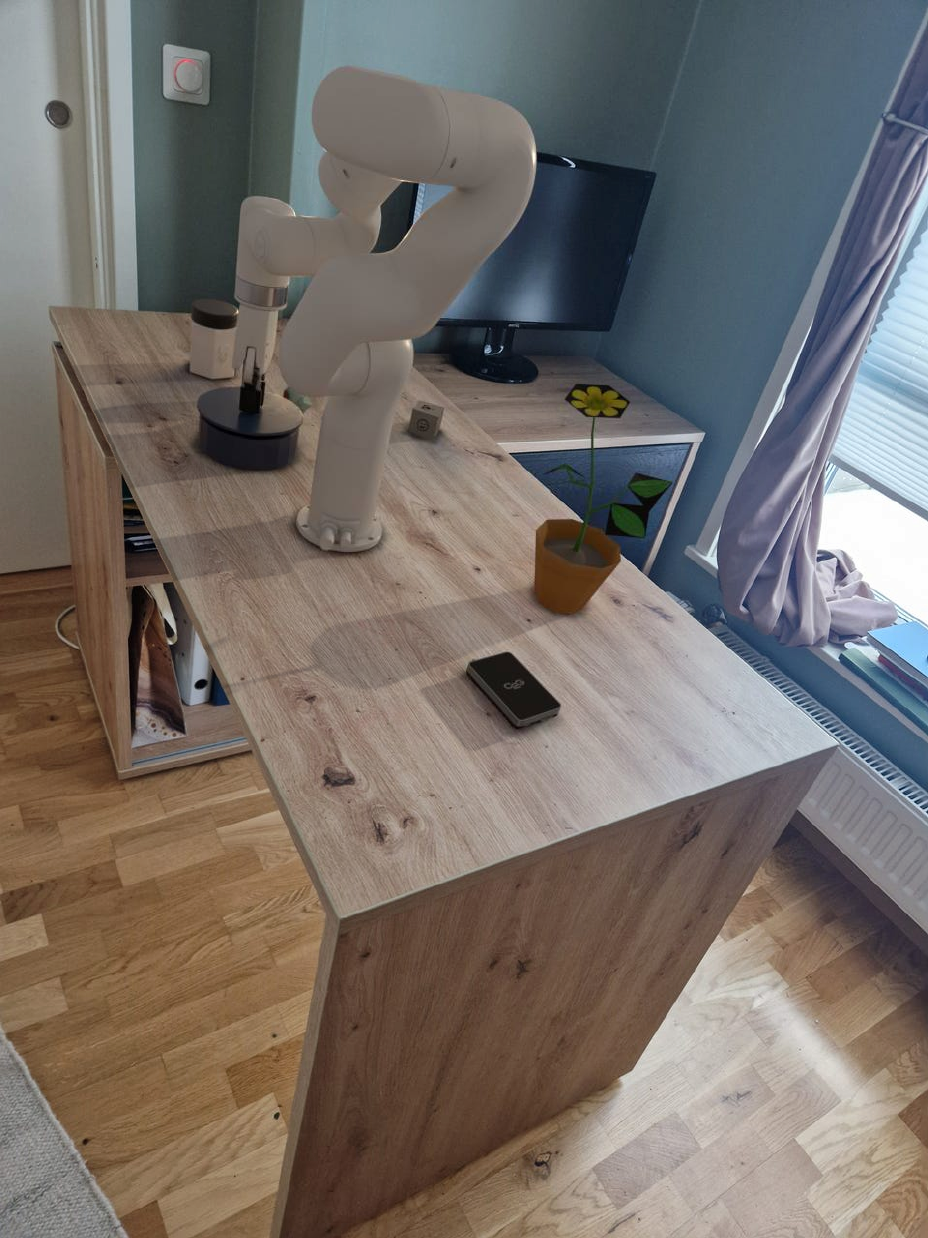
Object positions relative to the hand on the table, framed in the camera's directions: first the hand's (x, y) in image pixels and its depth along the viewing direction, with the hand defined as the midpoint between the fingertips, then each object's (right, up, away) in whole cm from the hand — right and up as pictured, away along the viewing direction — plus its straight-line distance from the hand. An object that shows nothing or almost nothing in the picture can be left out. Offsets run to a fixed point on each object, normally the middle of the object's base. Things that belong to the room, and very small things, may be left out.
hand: (251, 406), depth 131 cm
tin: (-2, -6, +4) cm, 7 cm away
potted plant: (+48, -31, -10) cm, 58 cm away
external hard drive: (+39, -43, -30) cm, 66 cm away
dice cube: (+26, +1, +25) cm, 36 cm away
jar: (-14, +13, +25) cm, 31 cm away
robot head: (+3, +2, +16) cm, 16 cm away
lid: (0, -1, +1) cm, 1 cm away
